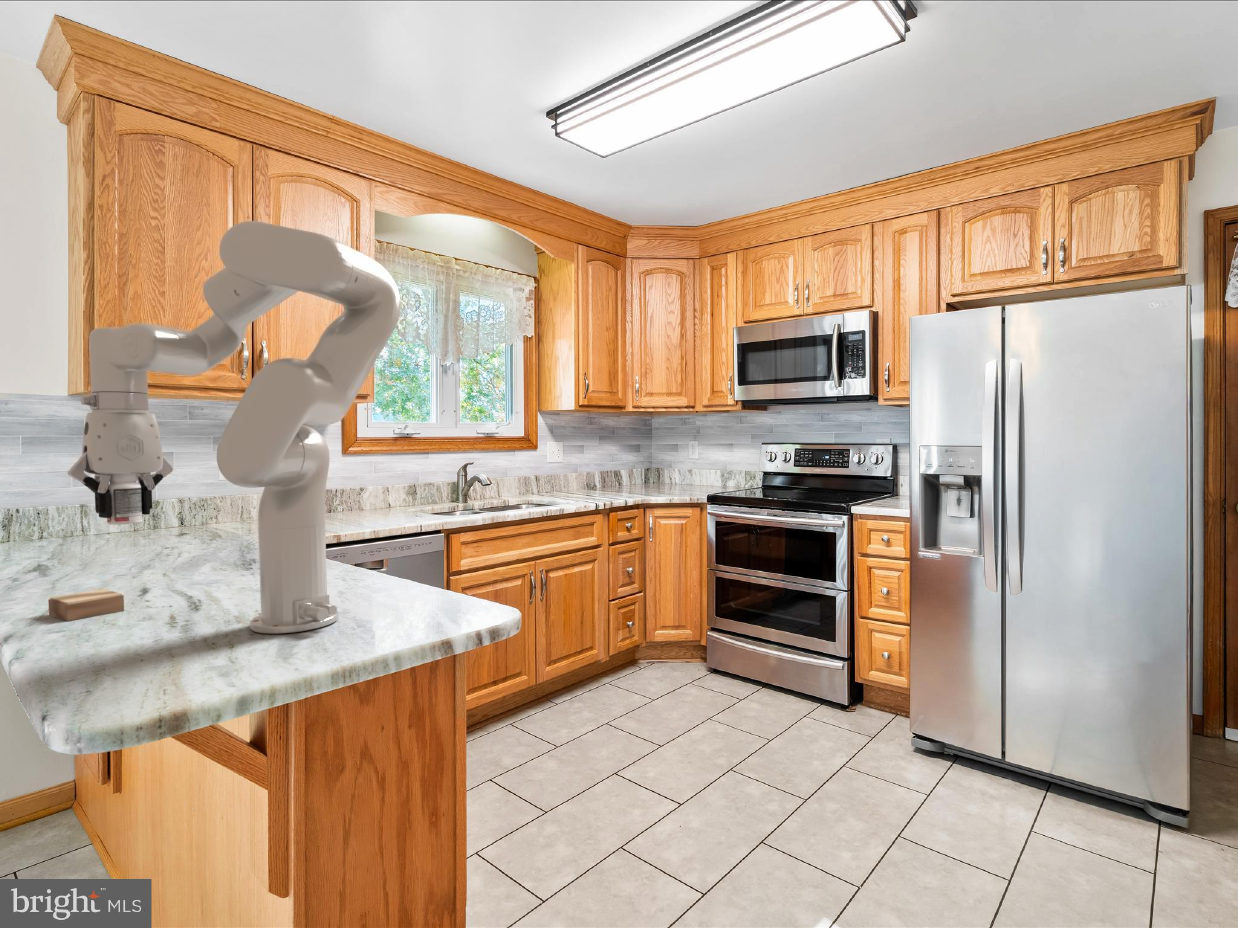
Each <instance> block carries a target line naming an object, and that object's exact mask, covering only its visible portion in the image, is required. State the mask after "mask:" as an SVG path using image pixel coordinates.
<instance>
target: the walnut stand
mask: <svg viewBox="0 0 1238 928" xmlns="http://www.w3.org/2000/svg"><path fill="white" fill-rule="evenodd" d="M124 597H125V596H124V594H122V593H120V592H117V591H111V590H108V589H104V588H101V589H95V590H90V591H89V590H88V591H83V592H77V593H69V594H64V595H58V596H57V595H56V596H53V597H50V598H49V599H48V602H47V603H48V615H49V616H51V617H54V618H56V619H59V620H63V621H66V622H71V621H76V620H82V619H86V618H92V617H97V616H103V615H108V614H113V613H119V612H124V611H125V600H124V599H125V598H124Z"/></svg>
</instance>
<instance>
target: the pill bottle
mask: <svg viewBox="0 0 1238 928" xmlns="http://www.w3.org/2000/svg"><path fill="white" fill-rule="evenodd" d="M137 480H138V473H131V474H111V477H110V481H109V485H108V488H107V489H108V493H110V494H111V501H112V517H110V518H106V523H107V524H108V525H113V526H115V525H117V526H118V525H121V526H122V525H132V524H141V523H142V522H143V514H142V495H141V485H140V484H139V483H138V481H137Z"/></svg>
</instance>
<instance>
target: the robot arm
mask: <svg viewBox="0 0 1238 928" xmlns="http://www.w3.org/2000/svg"><path fill="white" fill-rule="evenodd" d="M218 248H219V250H218V251H219V252H218V254H219V257H220V260H221V262H222V264H223V266H224V268H222V269H220V270H219V271H218V272H216V273H215V274H213V275H212V276H210V277H209V278H207V279H206V280H205V281H204V283H203V286H202V294H203V297H204V300H205V302H206V304H207V305H208V307H209V309H210V310H211V311H212V313H213V315H211V316H210V318H208V319H207V320H206V321H204V322H203V323H201V324H200V325H198V326H196V327H195V328H193V329H191V330H184V329H179V328H175V327H170V326H163V325H158V324H153V323H146V322H139V323H137V322H136V323H132V324H131V323H130V324H128V325H124V326H119V327H109V326H108V327H98V328H94V329H93V330H91V332H89V336H88V345H89V346H88V347H89V351H88V352H89V372H90V373H89V375H90V393H89V395H87V396H84V395H83V396H81V397H80V403H81V405H82V406H83V405H84V406H89V409H90V410H91V412H87V413H86V417H85V418H86V419H85V421H84V428H83V434H82V445H81V456H80V457H79V459H77V461H76V462H75V463H73V465H72V466H71V467H70V469H68V471H67V475H68V476H69V477H71V478H73V479H74V480H77V481H78V482H80V483H81V484H82V485H84V486H85V487H86V488H88V490H90V491H91V492H92V493H94V509H95V512H96V514H98V517H99V518H101V519H107V518H110V517H112V501H111V494H110V493H108V489H107V488H108V485H109V484H110V482H109V481H110V477H111V474H131V473H138V480H137V481H136V482H137V483H139V484H140V485H141V495H142V515H150V514H151V509H153V491H154V490H155V489H156V486H157V485H159V483H160V482H161V481H162V480H163V479H164V478H166V477H167V476H168V475H170V474H172V472H173V471H174V468H173V466H172V465H171V464H170V463H169V462H168V461H167V460H166V459H165V458H164V454H163V446H162V440H161V434H160V429H159V424H158V420H157V417H156V413H149V412H150V411H149V410H150V409H149V408H150V407H149V389H148V387H149V382H148V372H150V373H158V374H159V373H160V374H164V373H165V374H170V375H171V374H172V375H179V376H186V377H188V376H189V377H191V376H198V375H200V374H201V375H202V374H204V373H206V372H208V371H210V370H211V369H214V368H215V367H216V366H218V365H220V364H221V363H223V362H224V361H225V360H227V359H228V358H230V357H231V356H233V355H234V354H235V352H237V351H238V349H239V348H240V346H241V345H242V343H243V342H244V339H245V337H246V334H247V330H248V326H249V325H251V323H253V322H255V321H256V320H258V318H261V317H262V316H263V315H265V314H266V313H268V312H269V311H271V310H272V309H274V308H276V307H277V306H279V305H280V304H281V303H283V302H285V301H286V300H288V299H289V298H290V297H292V296H293V295H295V294H297V293H298V292H302V293H305V294H309V295H312V296H315V297H318V298H321V299H324V300H327V301H330V302H331V303H335V304H339V305H342V307H343V309H344V310H343V311H342V313H341V314H340V315H339V316H338V317H337V318H335V319H334V320H332V322H331V323H330V324H328V326H327V327H326V328H325V330H324V331H323V332H322V333H321V335H320V337H319V339H318V342H317V343H316V345H315V347H314V349H313V350H312V351H311V353H310V355H309V356H308V357H307V358H306V359H300V358H294V357H293V358H292V357H284V358H283V357H282V358H278V359H275V360H272V361H270V362H268V363H267V364H265V365H263V366H262V367H261V368H260V369H259V370H258V371H257V372H256V374H255V375H254V376H253V377H252V379H251V381H250V382H249V384H248V385H247V387H246V389H245V391H244V393H243V394H242V396H241V398H240V400H239V402H238V403H237V406H236V407H235V410H234V411H233V413H232V415H231V417H230V419H229V420H228V422H227V423H226V426H225V428H224V430H223V432H222V434H221V436H220V438H219V441H218V443H217V448H216V464H217V467H218V470H219V471H220V473H221V474H222V476H223V477H224V479H225V480H227V481H228V482H230V483H231V484H233V485H236V486H238V487H242V488H263V491H262V494H261V497H260V502H259V505H258V506H259V507H258V511H257V514H258V515H257V521H258V522H257V524H258V526H257V527H258V530H257V531H258V557H259V558H258V561H259V562H258V563H259V588H260V590H259V591H260V592H259V593H260V615H258V616H255V617H254V618H253V617H252V619H251V620H249V621H250V622H249V626H250V628H249V629H250V630H251V631H253V632H256V633H261V634H272V635H273V634H288V633H289V634H291V633H299V632H304V631H311V630H316V629H319V628H323V627H326V626H329V625H331V624H333V623H335V622H337V621H338V619H339V611H338V608H337V606H336V605H334V604H330V594H328V583H327V581H328V578H327V575H328V574H327V573H328V572H327V548H326V547H327V545H326V544H327V543H326V542H327V541H326V539H327V538H326V488H327V481H328V475H329V467H330V450H329V446H328V443H327V441H326V440H325V438H324V437H323V436H322V434H321V433H319V432H318V431H317V430H316V429H314V428H312V427H310V426H328V425H332V424H336V423H338V422H340V421H341V420H343V418H345V417H346V415H347V414H348V412H349V410H350V408H351V407H352V405H353V403H354V401H355V399H356V397H357V396H358V394H359V392H360V390H361V389H362V387H363V385H364V384H365V382H366V380H367V378H368V377H369V375H370V373H371V370H372V368H373V367H374V365H375V363H376V361H377V360H378V358H379V356H380V355H381V353H382V351H383V349H384V348H385V346H386V345H387V343H388V341H389V340H390V338H391V336H392V335H393V333H394V332H395V330H396V327H397V325H398V322H399V319H400V316H401V315H400V313H401V309H402V308H401V306H402V305H401V297H400V292H399V290H398V286H397V284H396V281H395V280H394V278H393V277H392V275H391V274H390V273H389V272H388V270H387V269H386V268H385V267H384V266H382V264H380V263H379V262H377V261H376V260H375V259H374V258H372V257H371V256H368V255H367V254H365V253H363V252H361V251H360V250H357V249H355V248H353V247H351V246H348V245H347V244H344V243H343V242H341V241H339V240H337V239H335V238H332V237H329V236H327V235H325V234H321V233H317V232H313V231H310V230H309V231H308V230H303V229H298V228H292V227H287V226H281V225H276V224H272V223H267V222H264V221H263V222H262V221H257V220H248V221H246V220H245V221H243V222H238V223H236V224H235V225H233V226H230V228H229V229H227V230H226V231H225V233H224V234H223V235H222V237H221V240H220V243H219V247H218ZM306 425H307V426H306ZM85 472H86V473H85ZM87 473H88V474H91V475H94V477H91V476H89V475H88V474H87Z"/></svg>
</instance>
